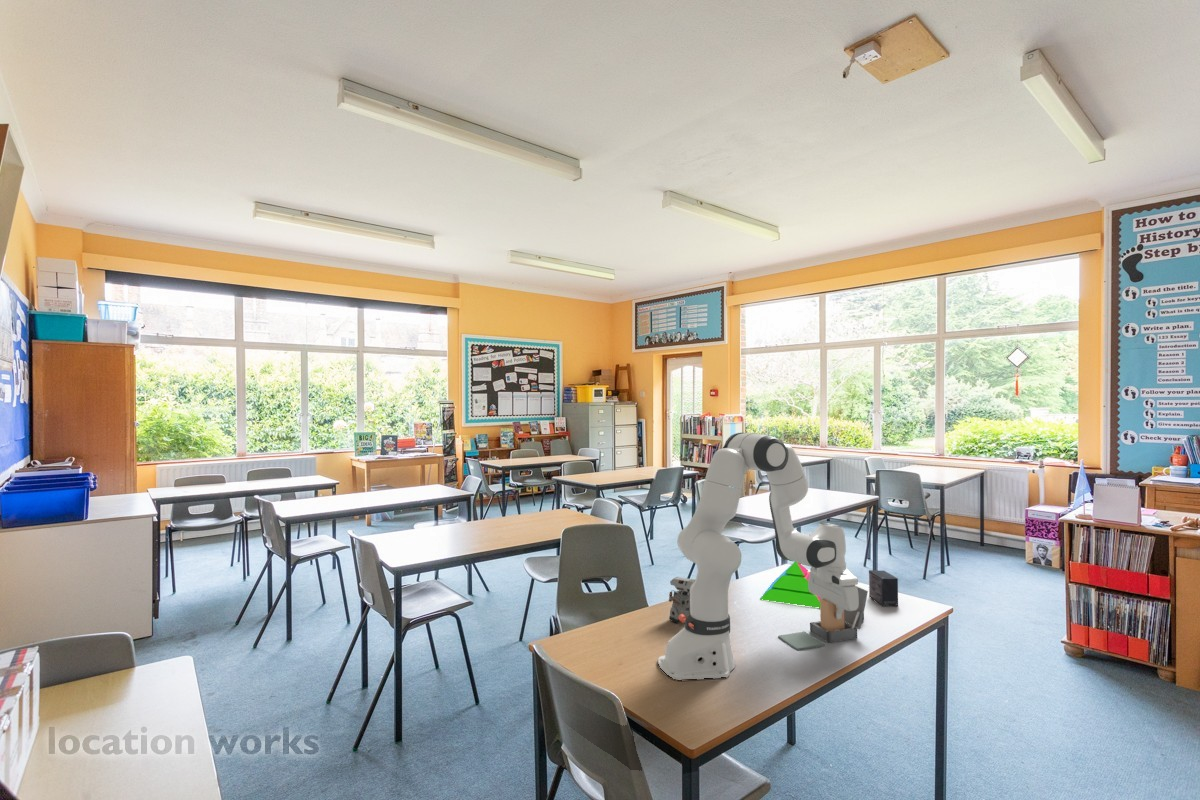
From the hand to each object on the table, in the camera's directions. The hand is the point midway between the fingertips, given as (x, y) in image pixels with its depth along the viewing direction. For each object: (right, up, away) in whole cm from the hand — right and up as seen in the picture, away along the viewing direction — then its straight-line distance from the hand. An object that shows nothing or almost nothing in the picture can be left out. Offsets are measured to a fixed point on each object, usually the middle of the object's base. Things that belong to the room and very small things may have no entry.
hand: (832, 615), depth 180 cm
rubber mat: (-12, -7, -5) cm, 14 cm away
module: (0, -4, 0) cm, 4 cm away
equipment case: (+2, -6, +1) cm, 7 cm away
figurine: (-45, -8, +14) cm, 48 cm away
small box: (+32, -6, +29) cm, 43 cm away
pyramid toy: (+2, -8, +38) cm, 39 cm away
